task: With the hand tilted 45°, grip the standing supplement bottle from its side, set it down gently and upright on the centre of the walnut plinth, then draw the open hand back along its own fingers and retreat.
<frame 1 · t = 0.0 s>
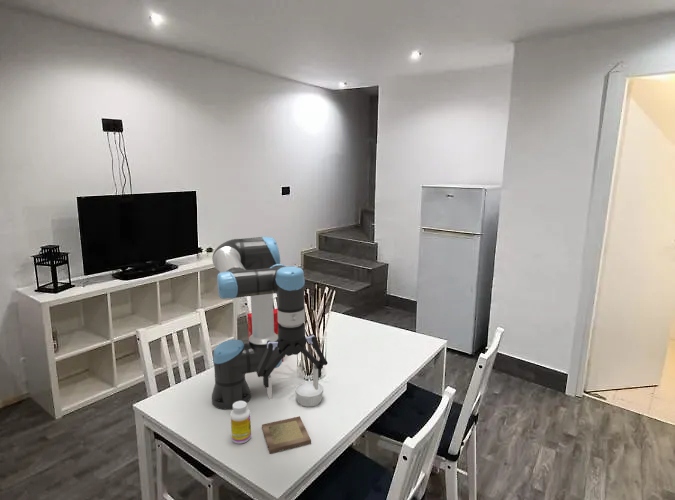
hand: (293, 392, 119), 28 cm above the table, tool pointing down, fingers open, 13 cm apart
ramekin: (309, 400, 164), on the table
supplement bottle: (241, 438, 142), on the table
food packaging: (266, 363, 195), on the table
walnut plinth: (285, 435, 143), on the table
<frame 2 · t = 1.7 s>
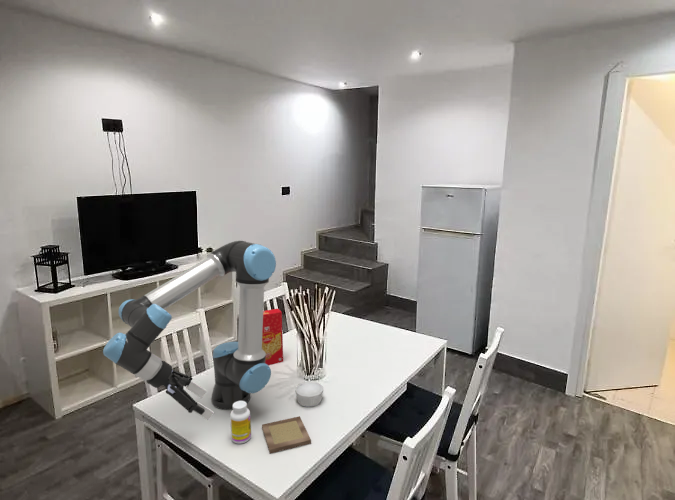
hand: (207, 404, 134), 16 cm above the table, tool tilted 45°, fingers open, 13 cm apart
nothing on the table moved.
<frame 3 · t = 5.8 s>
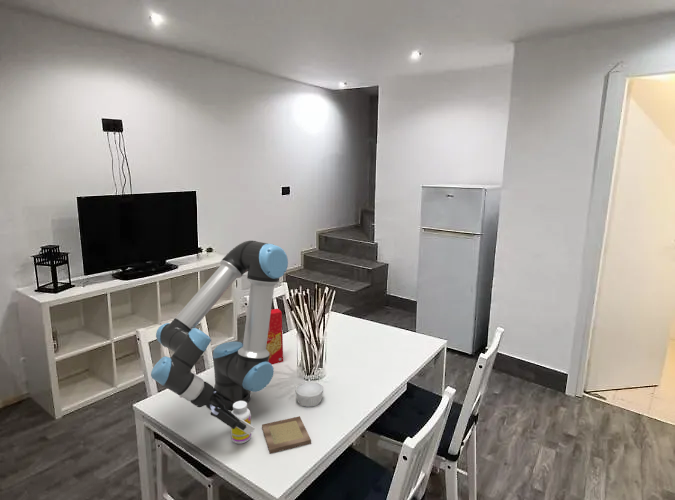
hand: (250, 424, 142), 4 cm above the table, tool tilted 45°, fingers closed on supplement bottle, 7 cm apart
supplement bottle: (241, 438, 142), on the table, touching gripper
everything else where it was.
when the fingers open (6 cm above the table, at t = 12.4 s): supplement bottle stays where it is, resting on walnut plinth.
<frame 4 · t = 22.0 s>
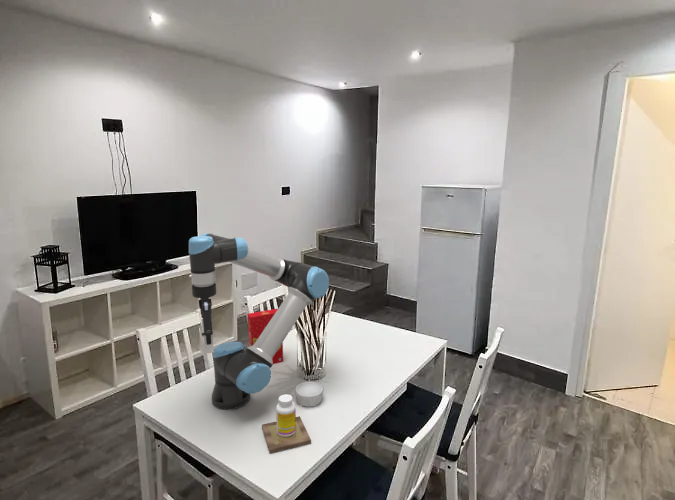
hand: (208, 344, 139), 33 cm above the table, tool pointing down, fingers open, 13 cm apart
supplement bottle: (286, 432, 143), point 1 cm above the table, touching walnut plinth
everything else where it was.
at the end: supplement bottle inside the target area on the walnut plinth (0.3 cm from its centre), point 1.3 cm above the walnut plinth's base; supplement bottle tilted 0°; the gripper is holding nothing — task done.
